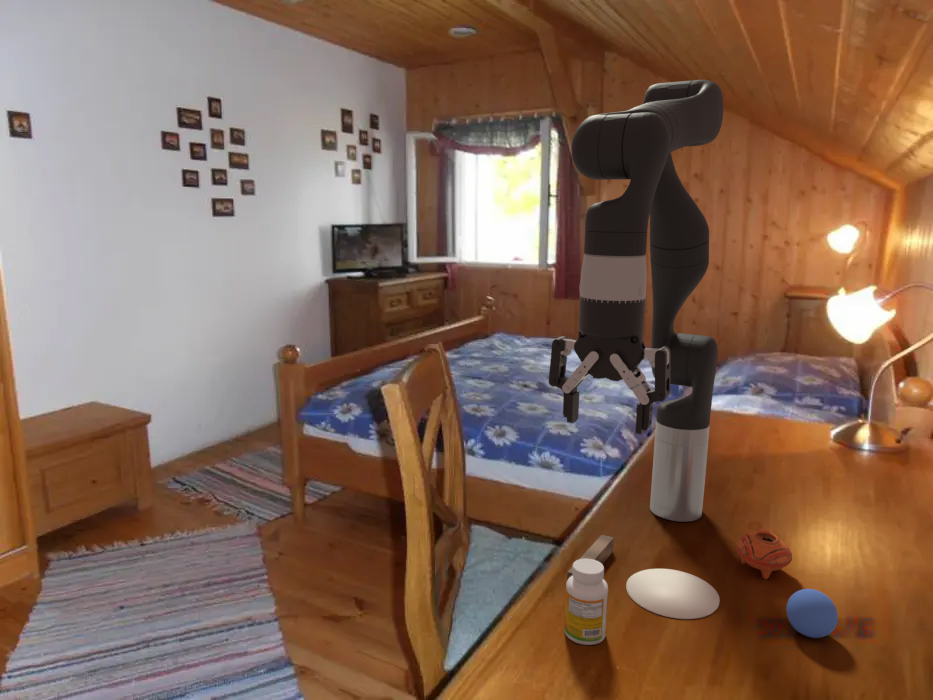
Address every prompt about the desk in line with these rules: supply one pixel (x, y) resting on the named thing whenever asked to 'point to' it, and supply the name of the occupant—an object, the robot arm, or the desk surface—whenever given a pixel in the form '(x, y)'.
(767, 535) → the pot
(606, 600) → the supplement bottle
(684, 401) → the robot arm
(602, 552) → the wall
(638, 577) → the white round plate
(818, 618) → the ball
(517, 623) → the desk surface
